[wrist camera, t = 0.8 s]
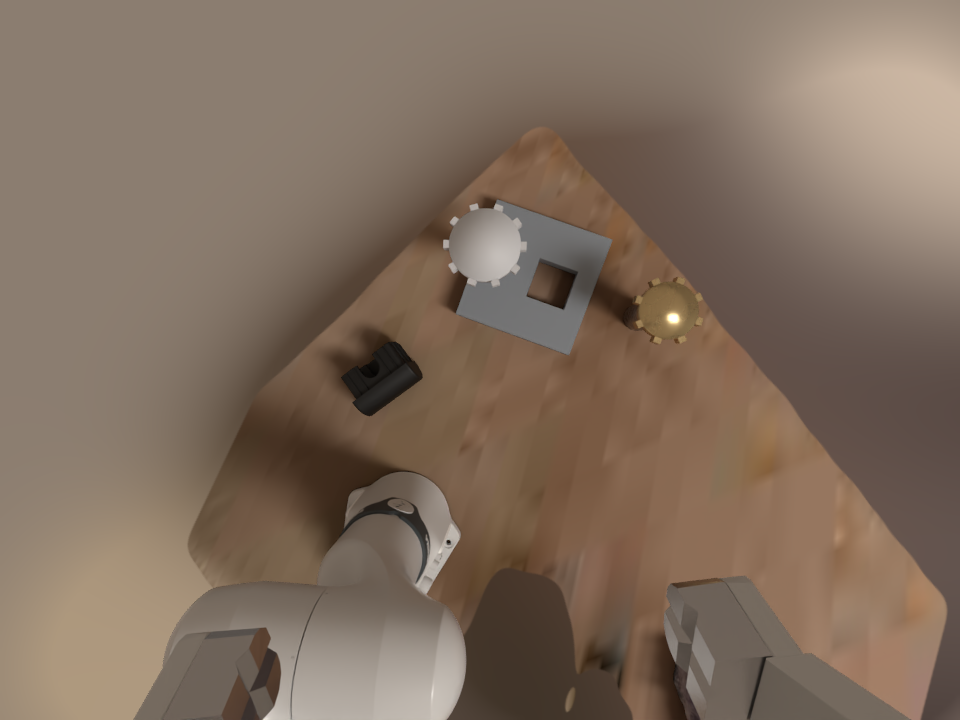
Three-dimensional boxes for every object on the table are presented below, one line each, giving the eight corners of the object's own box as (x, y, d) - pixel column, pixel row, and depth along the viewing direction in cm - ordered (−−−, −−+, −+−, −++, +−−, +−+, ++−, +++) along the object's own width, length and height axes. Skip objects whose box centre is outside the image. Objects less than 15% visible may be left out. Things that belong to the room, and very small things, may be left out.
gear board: (566, 354, 72) (580, 357, 58) (439, 308, 73) (422, 299, 59) (608, 244, 71) (633, 218, 57) (478, 198, 72) (471, 162, 58)
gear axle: (652, 352, 71) (689, 354, 57) (600, 333, 72) (623, 331, 57) (672, 301, 71) (714, 289, 56) (620, 282, 71) (648, 266, 57)
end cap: (377, 413, 74) (364, 419, 68) (351, 377, 74) (335, 380, 68) (427, 376, 74) (418, 379, 67) (400, 340, 74) (390, 339, 67)
